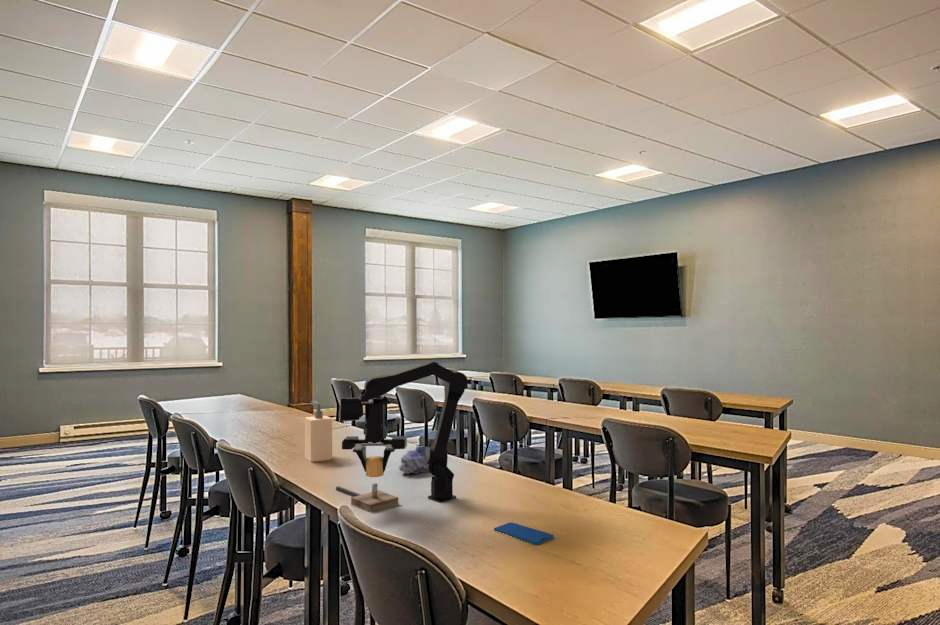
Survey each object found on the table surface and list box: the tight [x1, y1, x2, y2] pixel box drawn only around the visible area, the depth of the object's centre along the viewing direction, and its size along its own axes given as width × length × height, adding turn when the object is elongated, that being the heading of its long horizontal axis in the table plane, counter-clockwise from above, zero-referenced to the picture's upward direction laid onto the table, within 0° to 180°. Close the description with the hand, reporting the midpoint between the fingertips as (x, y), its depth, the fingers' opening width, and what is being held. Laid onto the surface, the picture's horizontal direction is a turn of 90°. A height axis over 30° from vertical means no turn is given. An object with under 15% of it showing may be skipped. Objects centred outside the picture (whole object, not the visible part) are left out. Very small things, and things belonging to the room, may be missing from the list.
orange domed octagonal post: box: [365, 455, 385, 478], centre depth 173 cm, size 5×5×5 cm
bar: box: [335, 485, 362, 497], centre depth 182 cm, size 16×1×1 cm, turn 44°
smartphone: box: [493, 522, 554, 546], centre depth 148 cm, size 7×1×15 cm
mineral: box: [398, 445, 429, 475], centre depth 210 cm, size 14×10×10 cm
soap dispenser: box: [304, 400, 333, 463], centre depth 233 cm, size 13×9×22 cm
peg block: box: [350, 482, 399, 512], centre depth 173 cm, size 10×10×6 cm
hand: (375, 471), depth 173 cm, fingers closed on orange domed octagonal post, 5 cm apart
